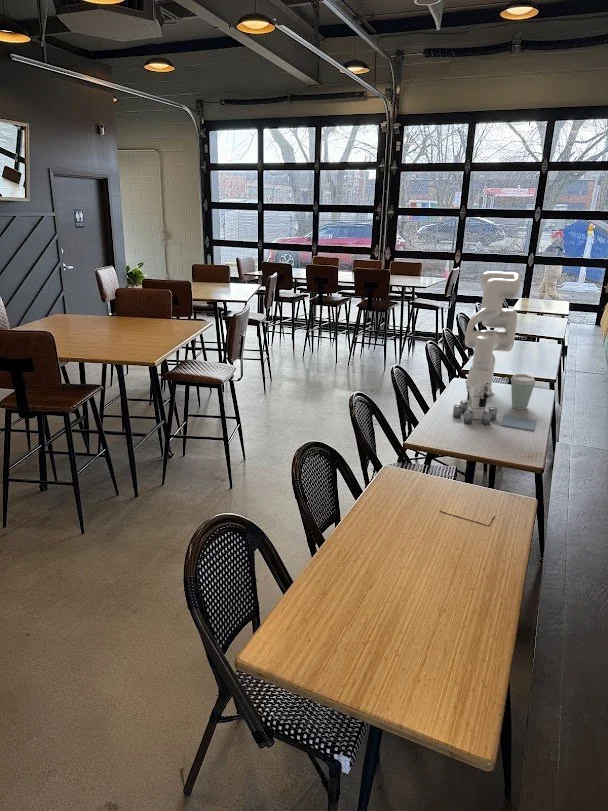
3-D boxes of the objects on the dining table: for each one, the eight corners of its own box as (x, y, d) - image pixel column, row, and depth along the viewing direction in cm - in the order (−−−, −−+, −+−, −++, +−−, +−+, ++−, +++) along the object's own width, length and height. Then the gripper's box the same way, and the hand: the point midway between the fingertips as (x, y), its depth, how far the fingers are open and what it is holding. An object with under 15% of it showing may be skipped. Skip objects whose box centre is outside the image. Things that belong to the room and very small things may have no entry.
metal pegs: (445, 413, 244) (446, 402, 243) (475, 408, 251) (476, 398, 249) (472, 427, 228) (474, 416, 227) (503, 422, 235) (505, 412, 233)
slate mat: (501, 425, 231) (501, 424, 231) (504, 416, 242) (504, 414, 242) (533, 431, 226) (533, 430, 226) (535, 421, 237) (535, 419, 237)
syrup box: (482, 419, 237) (487, 388, 232) (469, 419, 237) (473, 387, 232) (479, 414, 242) (483, 383, 237) (465, 414, 242) (470, 383, 237)
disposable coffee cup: (534, 411, 249) (539, 380, 243) (510, 411, 249) (515, 379, 244) (525, 403, 259) (531, 373, 253) (503, 403, 259) (507, 373, 254)
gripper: (461, 360, 237) (456, 398, 244) (488, 371, 222) (482, 411, 229) (475, 358, 240) (470, 396, 246) (502, 369, 225) (496, 409, 231)
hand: (476, 403), depth 238 cm, fingers closed on syrup box, 7 cm apart
